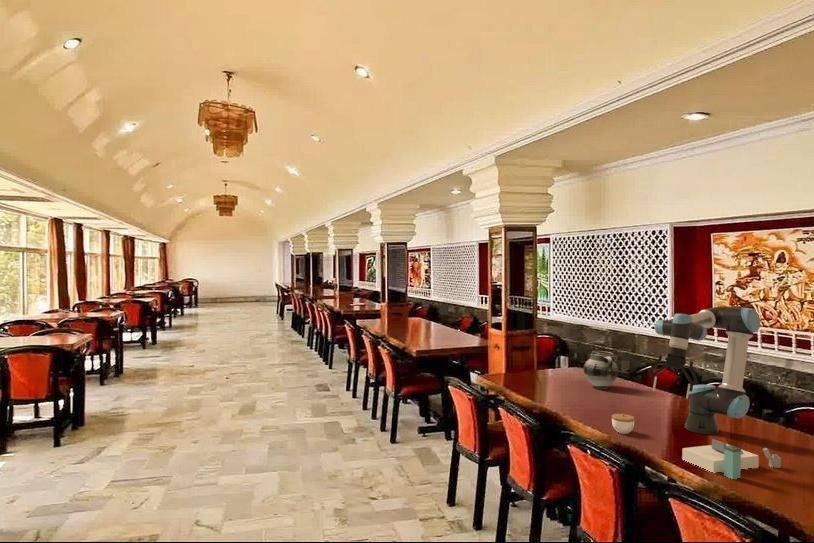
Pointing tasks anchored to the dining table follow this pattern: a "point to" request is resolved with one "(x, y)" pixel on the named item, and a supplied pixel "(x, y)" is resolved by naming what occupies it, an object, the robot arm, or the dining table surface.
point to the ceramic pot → (601, 369)
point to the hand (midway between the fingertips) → (670, 394)
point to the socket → (716, 458)
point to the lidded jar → (623, 423)
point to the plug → (732, 461)
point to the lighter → (772, 459)
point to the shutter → (719, 445)
